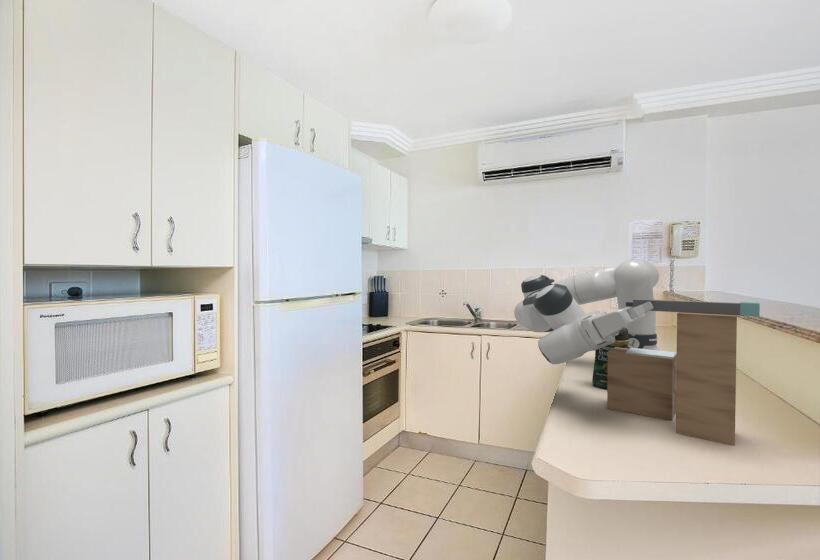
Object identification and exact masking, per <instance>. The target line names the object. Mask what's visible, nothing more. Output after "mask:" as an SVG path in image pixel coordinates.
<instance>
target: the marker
mask: <svg viewBox="0 0 820 560" xmlns="http://www.w3.org/2000/svg"><path fill="white" fill-rule="evenodd" d="M646 302H652V304H653V305H654V308H653V309H651V310H649V311H656V312H667V313H678V312H683V313H702V314H722V315H737V316H740V317H741V316H743V317H744V316H745V317H760V306H761V303H760V302H748V301H747V302H746V301H745V302H744V301H740V302H725V301H724V302H723V301H722V302H720V301H716V302H715V301H696V300H695V301H694V300H693V301H692V300H671V299H670V300H667V299H665V300H664V299H654V300H644V299H634V300H633V302H626V306H629V307H633V308H634V307H637V306H639V305H642V304H644V303H646Z"/></svg>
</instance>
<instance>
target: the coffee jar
mask: <svg viewBox="0 0 820 560" xmlns="http://www.w3.org/2000/svg"><path fill="white" fill-rule="evenodd" d="M628 344H629V334H628V329H627V328H622V329H620V330H619V334H618V335H617V336H615V342H614V343H612V344H609V345H607V346H605V347H602V348H600V349H597V350H595V354H594V355H595V356H594V363H593V371H592V380H591V381H592V385H593V386H595V387H598V388H601V389H606V390H607V384H608V351H610V350H611V349H613V348H615V347H618V348H627V346H628Z"/></svg>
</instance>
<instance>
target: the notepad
mask: <svg viewBox="0 0 820 560" xmlns="http://www.w3.org/2000/svg"><path fill="white" fill-rule="evenodd" d="M626 354H635V355H644V356H653V357H661V358H670V359H673V358H674V357H675V355H676V354H677V351H666V350H660V351H658V350H648V349H638V348H630V349H629V350H627V351H626Z"/></svg>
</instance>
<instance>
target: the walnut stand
mask: <svg viewBox="0 0 820 560" xmlns="http://www.w3.org/2000/svg"><path fill="white" fill-rule="evenodd" d="M737 323H738V315H722V314H702V313H683V312H676V352H677V354H676V355H675V357H674V358H673V359H670V358H661V357H653V356H644V355H635V354H626V351H627V350H629V349H627V348H618V347H615V348H613V349H611V350H610V351H608V384H607V389H606V390H607V392H606V393H607V394H606V395H607V401H606V404H607V405H606V406H607V409H612V410H616V411H621V412H625V411H626V412H625V413H630V412H632V413H631V414H635V413H636V415H642V416H646V417H651V418H657V419H660V420H667V421H673V419H674V418H675V434H680V435H684V436H689V437H692V438H693V437H694V438H697V439H703V440H707V441H712V442H717V443H722V444H726V445H732V446H736V399H737V398H736V397H737V396H736V395H737V393H736V391H737V389H736V388H737V386H736V385H737V338H738V337H737V332H738V331H737V327H738V324H737Z"/></svg>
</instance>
